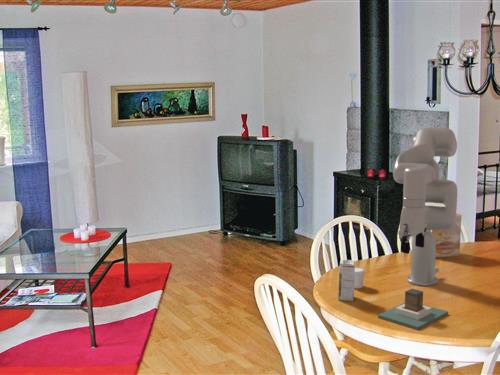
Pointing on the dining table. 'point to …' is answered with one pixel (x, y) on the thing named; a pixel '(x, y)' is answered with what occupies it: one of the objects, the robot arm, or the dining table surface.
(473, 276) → the dining table surface
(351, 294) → the syrup box
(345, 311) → the dining table surface
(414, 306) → the grey metal plug
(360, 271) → the white grey cup
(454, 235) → the coffeecake box
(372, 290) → the dining table surface
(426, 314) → the socket board
